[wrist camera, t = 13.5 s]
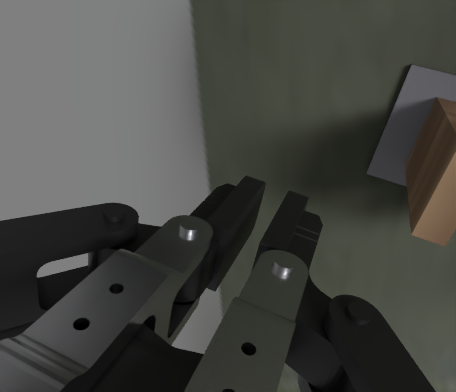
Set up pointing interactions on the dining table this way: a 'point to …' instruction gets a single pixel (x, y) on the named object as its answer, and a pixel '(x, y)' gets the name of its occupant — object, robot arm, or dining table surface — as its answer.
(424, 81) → the felt strip
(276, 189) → the dining table surface
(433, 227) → the domino
